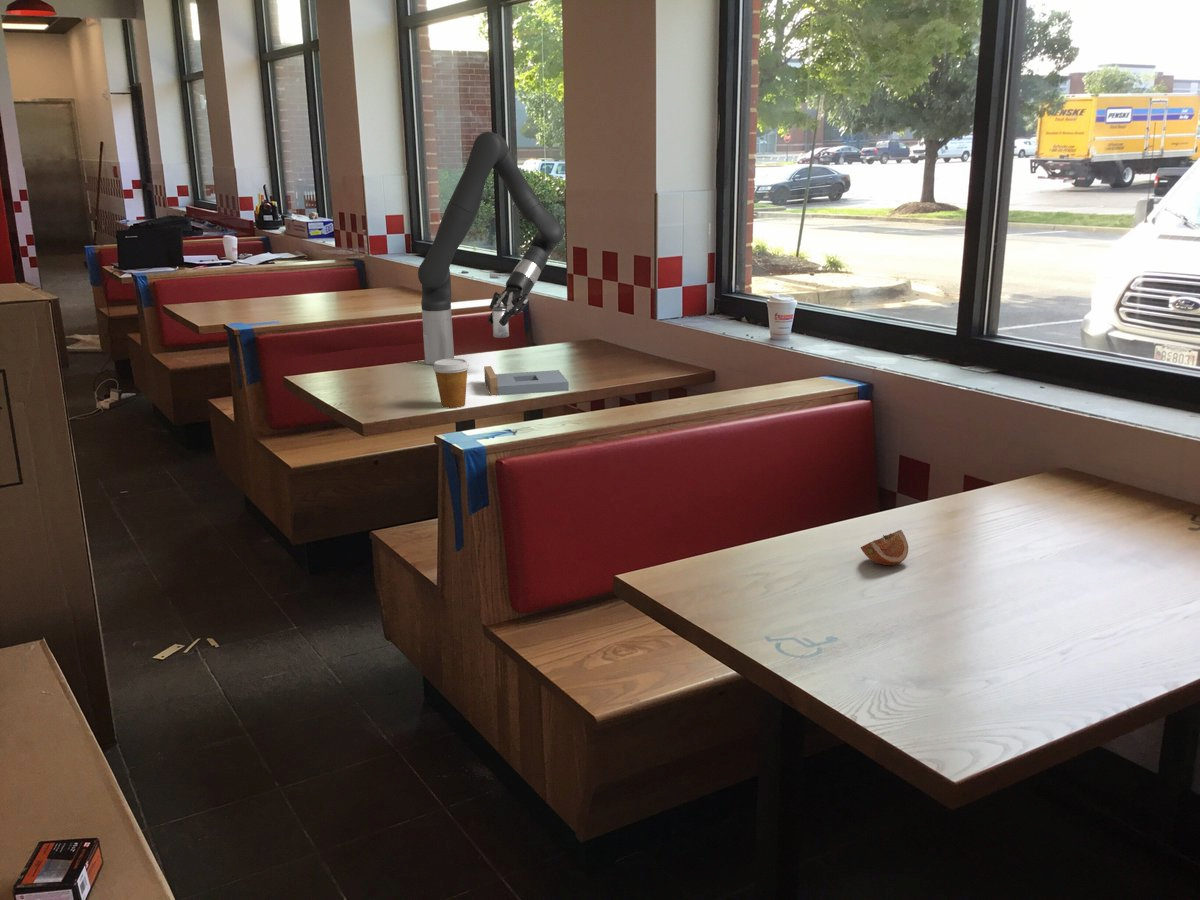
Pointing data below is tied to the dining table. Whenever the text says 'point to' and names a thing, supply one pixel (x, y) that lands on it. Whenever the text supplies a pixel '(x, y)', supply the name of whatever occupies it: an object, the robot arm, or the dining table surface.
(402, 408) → the dining table surface
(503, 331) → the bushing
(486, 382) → the jig
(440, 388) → the disposable coffee cup
